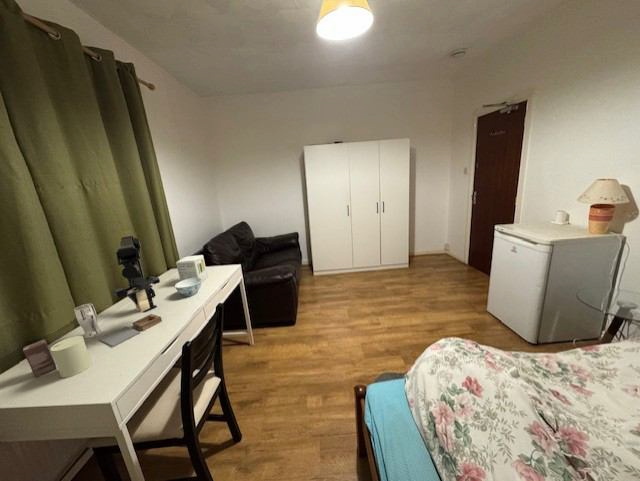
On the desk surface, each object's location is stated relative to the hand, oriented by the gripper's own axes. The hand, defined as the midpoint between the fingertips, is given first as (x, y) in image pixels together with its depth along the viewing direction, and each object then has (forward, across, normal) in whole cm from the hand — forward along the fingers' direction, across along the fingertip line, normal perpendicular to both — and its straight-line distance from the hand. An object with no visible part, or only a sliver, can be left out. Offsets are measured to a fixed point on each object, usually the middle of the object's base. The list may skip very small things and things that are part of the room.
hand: (141, 302), depth 125 cm
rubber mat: (+12, -11, +2) cm, 17 cm away
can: (+12, -30, -7) cm, 33 cm away
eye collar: (+12, 0, 0) cm, 12 cm away
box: (+12, -36, +4) cm, 38 cm away
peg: (+4, 0, 0) cm, 4 cm away
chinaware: (+12, +32, +12) cm, 36 cm away
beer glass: (+12, -16, +18) cm, 27 cm away
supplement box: (+12, +47, +29) cm, 57 cm away
